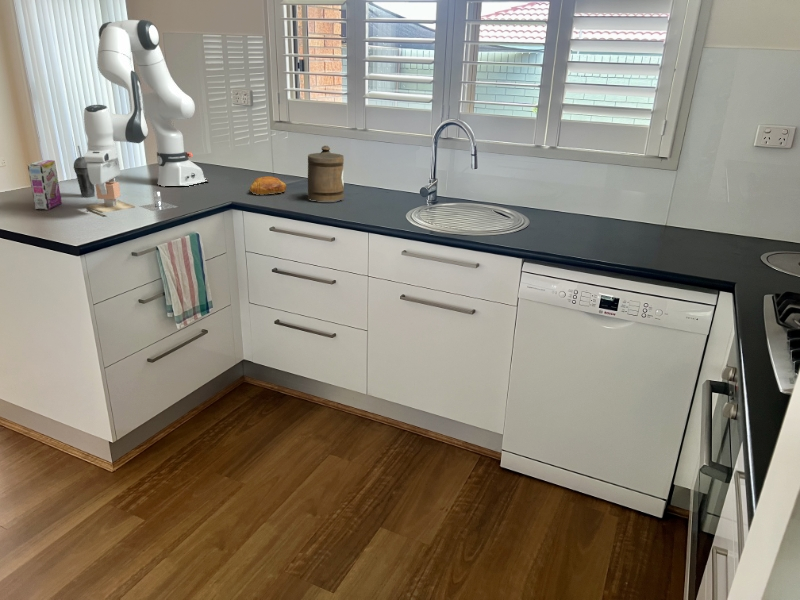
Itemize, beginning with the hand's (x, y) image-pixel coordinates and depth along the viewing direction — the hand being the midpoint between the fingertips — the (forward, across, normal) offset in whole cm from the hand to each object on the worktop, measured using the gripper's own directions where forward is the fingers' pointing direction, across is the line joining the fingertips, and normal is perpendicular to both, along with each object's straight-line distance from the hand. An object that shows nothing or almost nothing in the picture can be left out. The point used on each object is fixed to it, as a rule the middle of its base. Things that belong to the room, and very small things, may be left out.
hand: (108, 192), depth 216 cm
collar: (+2, 0, 0) cm, 2 cm away
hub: (+7, 0, 0) cm, 7 cm away
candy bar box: (+7, -6, -24) cm, 26 cm away
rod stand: (+7, -2, +16) cm, 18 cm away
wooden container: (+7, -26, +78) cm, 82 cm away
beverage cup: (+7, -24, -17) cm, 30 cm away
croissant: (+7, -37, +52) cm, 65 cm away
